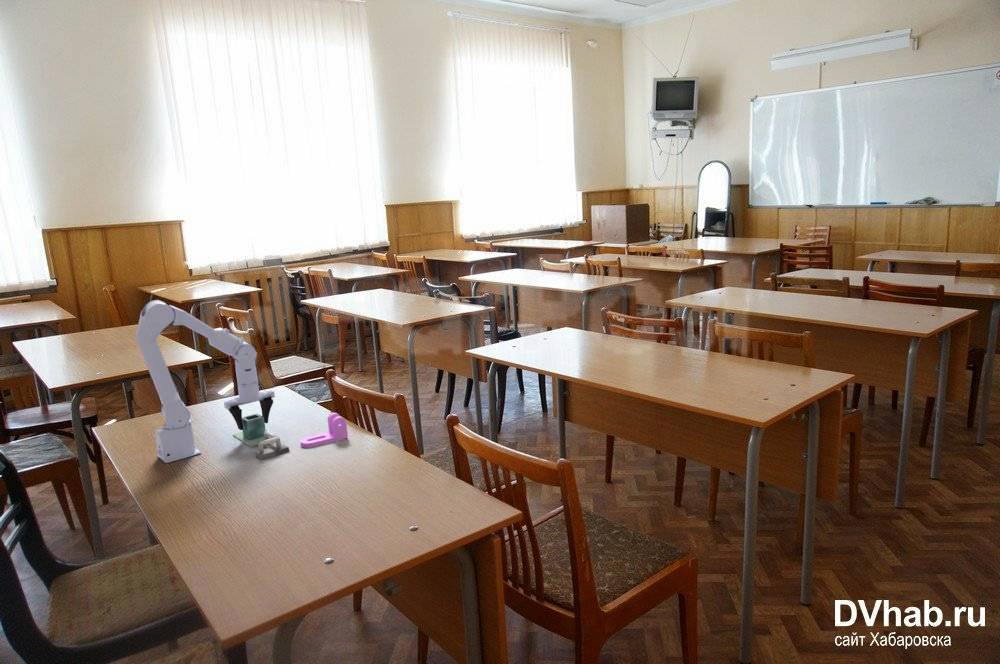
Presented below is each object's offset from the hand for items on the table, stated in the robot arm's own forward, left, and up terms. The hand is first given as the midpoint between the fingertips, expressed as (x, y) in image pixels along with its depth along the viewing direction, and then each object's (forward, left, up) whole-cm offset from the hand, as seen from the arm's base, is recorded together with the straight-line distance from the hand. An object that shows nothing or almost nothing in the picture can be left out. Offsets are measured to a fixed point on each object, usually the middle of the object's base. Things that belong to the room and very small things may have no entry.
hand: (253, 425), depth 200 cm
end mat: (0, 0, -4) cm, 4 cm away
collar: (0, 0, -3) cm, 3 cm away
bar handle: (-2, -13, -4) cm, 14 cm away
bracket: (+13, -19, -4) cm, 23 cm away
